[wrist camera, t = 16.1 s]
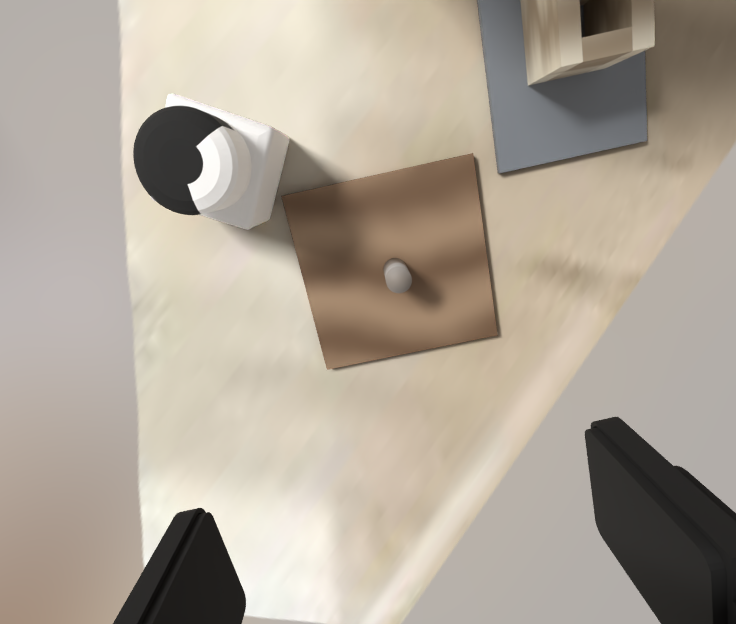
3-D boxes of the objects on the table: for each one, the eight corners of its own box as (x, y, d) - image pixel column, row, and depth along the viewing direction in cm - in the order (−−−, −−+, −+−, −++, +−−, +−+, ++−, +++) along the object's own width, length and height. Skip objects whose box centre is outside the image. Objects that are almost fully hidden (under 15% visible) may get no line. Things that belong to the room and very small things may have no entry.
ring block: (520, -3, 32) (554, -42, 27) (601, -22, 32) (653, -65, 26) (527, 85, 34) (561, 66, 28) (605, 68, 34) (654, 45, 28)
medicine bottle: (187, 195, 37) (108, 203, 25) (204, 107, 35) (126, 73, 23) (270, 221, 38) (229, 241, 26) (291, 136, 36) (257, 117, 24)
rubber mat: (466, -85, 31) (468, -90, 31) (635, -127, 31) (640, -133, 30) (497, 173, 37) (499, 173, 36) (642, 141, 36) (647, 140, 35)
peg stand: (282, 195, 37) (270, 198, 32) (470, 153, 36) (488, 149, 31) (327, 366, 42) (322, 392, 36) (495, 332, 41) (513, 354, 36)
